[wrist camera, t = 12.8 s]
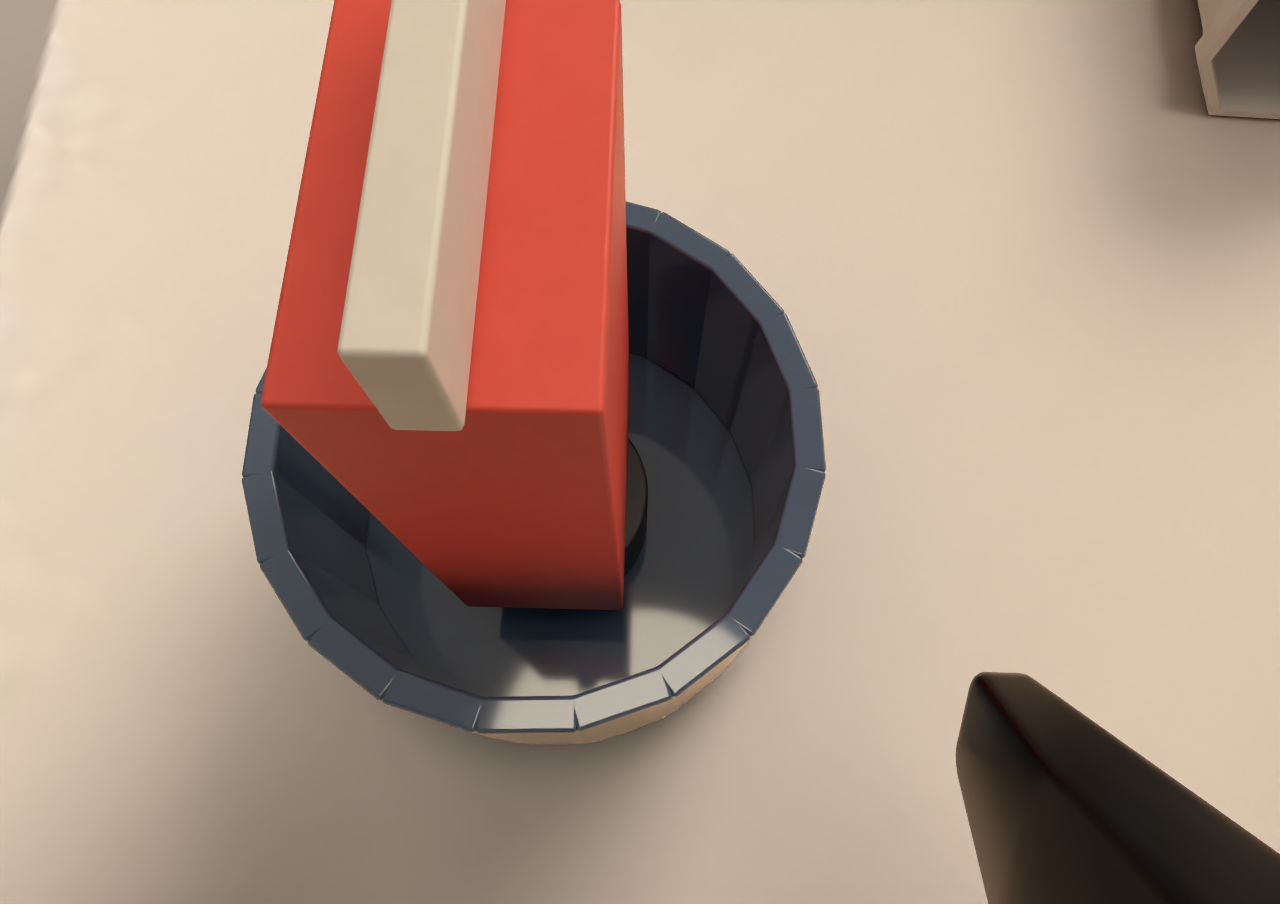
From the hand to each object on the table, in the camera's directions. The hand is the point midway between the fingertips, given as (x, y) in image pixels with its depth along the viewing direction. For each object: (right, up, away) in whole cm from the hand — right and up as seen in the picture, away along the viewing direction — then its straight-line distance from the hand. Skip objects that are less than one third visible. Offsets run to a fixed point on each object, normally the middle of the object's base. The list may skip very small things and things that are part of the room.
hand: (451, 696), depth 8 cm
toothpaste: (0, +1, +11) cm, 11 cm away
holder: (0, +1, +11) cm, 11 cm away
